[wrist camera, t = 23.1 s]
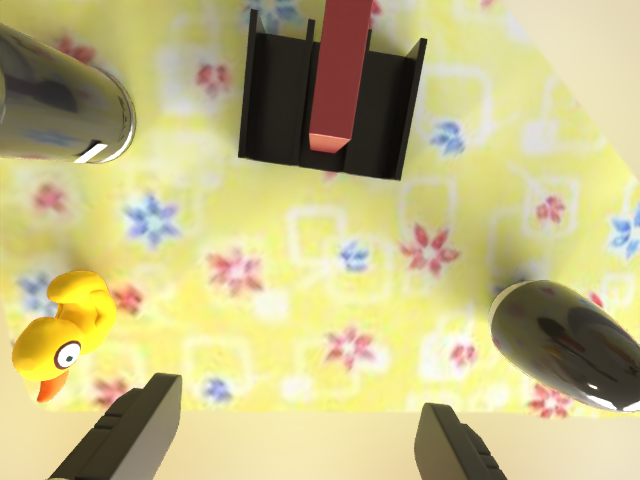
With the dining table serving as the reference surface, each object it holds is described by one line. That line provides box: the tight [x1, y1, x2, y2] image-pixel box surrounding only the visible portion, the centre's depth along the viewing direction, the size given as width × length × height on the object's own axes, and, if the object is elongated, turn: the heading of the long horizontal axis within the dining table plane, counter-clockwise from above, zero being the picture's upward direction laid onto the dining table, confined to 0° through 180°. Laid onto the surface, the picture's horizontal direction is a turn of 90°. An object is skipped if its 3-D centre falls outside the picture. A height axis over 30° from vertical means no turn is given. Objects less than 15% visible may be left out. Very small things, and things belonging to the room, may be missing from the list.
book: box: [309, 0, 373, 153], centre depth 25 cm, size 3×8×14 cm, turn 172°
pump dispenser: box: [488, 280, 640, 413], centre depth 31 cm, size 10×10×15 cm
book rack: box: [238, 9, 427, 181], centre depth 30 cm, size 16×12×6 cm
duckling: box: [12, 271, 116, 403], centre depth 32 cm, size 11×5×10 cm, turn 174°
